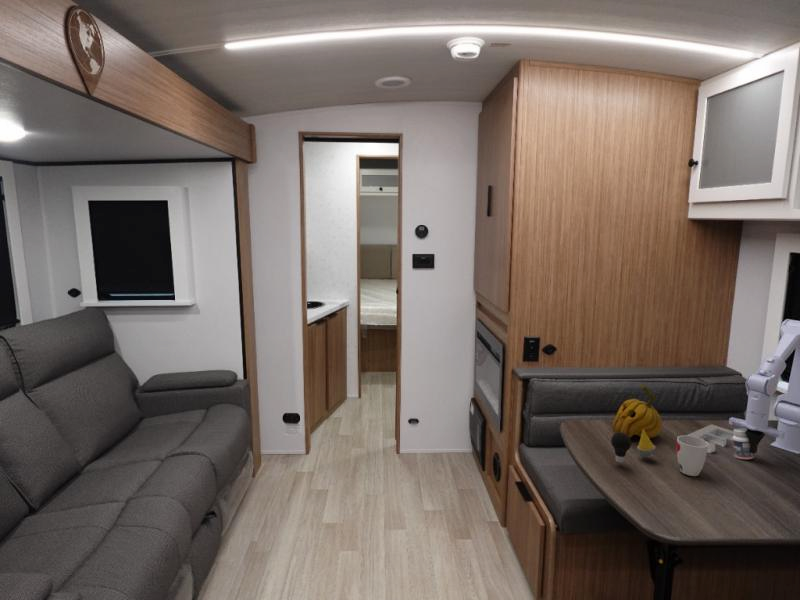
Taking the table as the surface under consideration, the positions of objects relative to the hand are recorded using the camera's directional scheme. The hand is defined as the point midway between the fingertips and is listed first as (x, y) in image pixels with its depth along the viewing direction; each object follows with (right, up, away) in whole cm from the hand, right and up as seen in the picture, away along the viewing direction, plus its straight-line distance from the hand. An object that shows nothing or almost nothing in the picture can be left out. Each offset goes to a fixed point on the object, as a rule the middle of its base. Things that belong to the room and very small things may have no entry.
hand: (752, 452), depth 153 cm
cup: (-25, -4, -7) cm, 26 cm away
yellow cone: (-33, -3, +2) cm, 33 cm away
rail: (-4, -1, +15) cm, 15 cm away
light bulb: (-44, -3, -1) cm, 44 cm away
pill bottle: (-1, -3, +2) cm, 4 cm away
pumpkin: (-34, -1, +18) cm, 39 cm away
